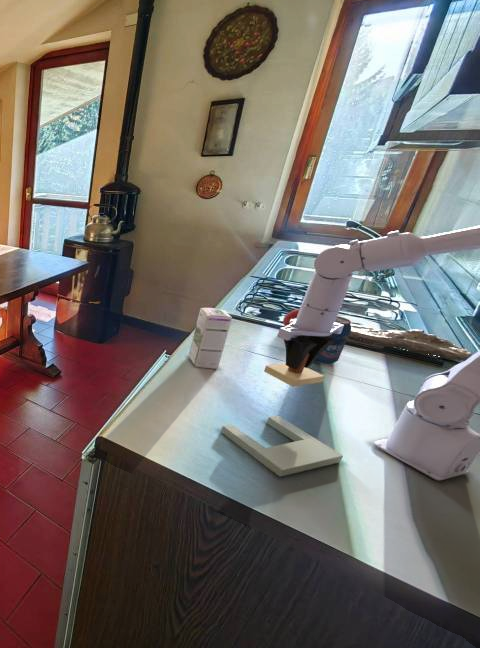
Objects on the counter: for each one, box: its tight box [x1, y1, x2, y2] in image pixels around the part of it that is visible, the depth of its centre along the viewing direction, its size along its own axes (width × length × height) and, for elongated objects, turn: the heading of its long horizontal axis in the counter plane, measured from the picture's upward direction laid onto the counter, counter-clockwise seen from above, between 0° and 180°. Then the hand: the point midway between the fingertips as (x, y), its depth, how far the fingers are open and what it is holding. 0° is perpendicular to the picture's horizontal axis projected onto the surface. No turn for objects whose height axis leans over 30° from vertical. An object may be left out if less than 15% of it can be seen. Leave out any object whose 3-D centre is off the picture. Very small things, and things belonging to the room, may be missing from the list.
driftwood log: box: [347, 323, 473, 362], centre depth 115 cm, size 35×5×10 cm
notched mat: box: [220, 415, 344, 478], centre depth 72 cm, size 12×14×2 cm
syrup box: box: [187, 307, 233, 370], centre depth 99 cm, size 6×6×14 cm
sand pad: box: [263, 353, 326, 388], centre depth 82 cm, size 6×8×6 cm
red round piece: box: [282, 307, 300, 327], centre depth 120 cm, size 6×6×8 cm
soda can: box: [313, 315, 352, 366], centre depth 103 cm, size 7×7×12 cm
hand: (296, 366), depth 82 cm, fingers closed on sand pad, 2 cm apart
